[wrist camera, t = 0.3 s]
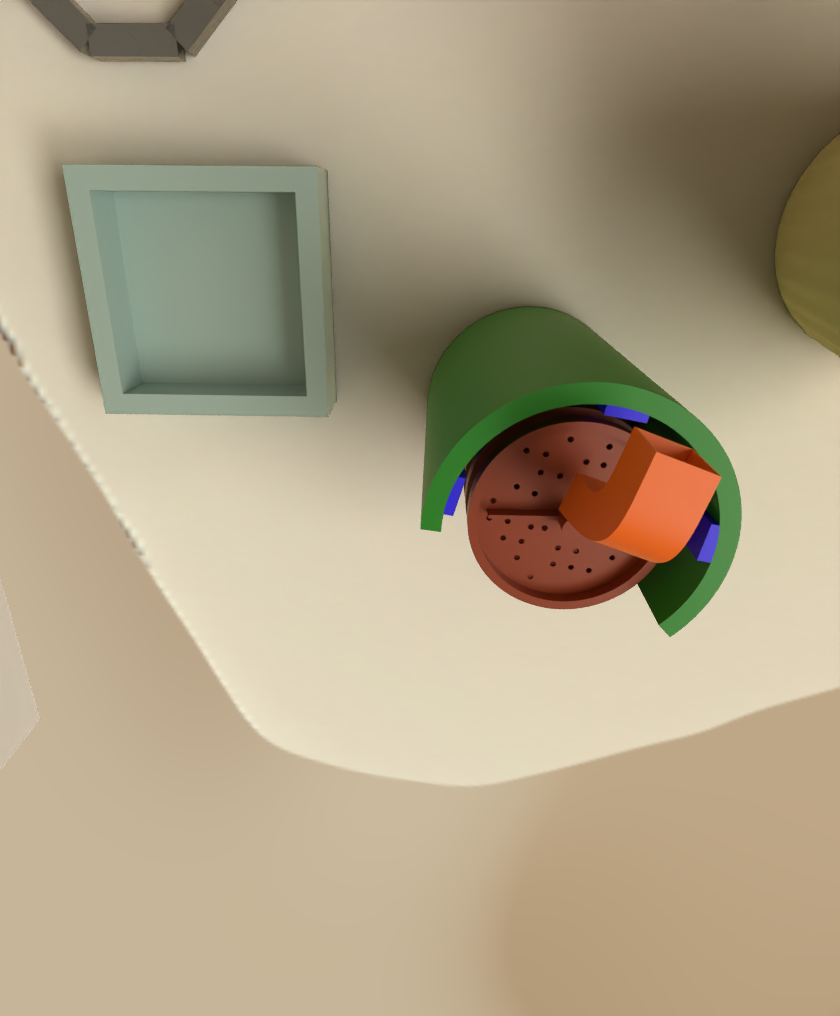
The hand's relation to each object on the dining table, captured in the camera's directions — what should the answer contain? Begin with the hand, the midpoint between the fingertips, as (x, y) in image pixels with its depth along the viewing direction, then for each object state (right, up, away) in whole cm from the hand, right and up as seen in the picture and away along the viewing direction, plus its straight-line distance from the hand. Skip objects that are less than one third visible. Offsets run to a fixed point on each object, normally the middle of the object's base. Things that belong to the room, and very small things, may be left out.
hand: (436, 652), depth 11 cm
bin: (-10, +13, +24) cm, 29 cm away
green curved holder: (+5, +8, +26) cm, 28 cm away
